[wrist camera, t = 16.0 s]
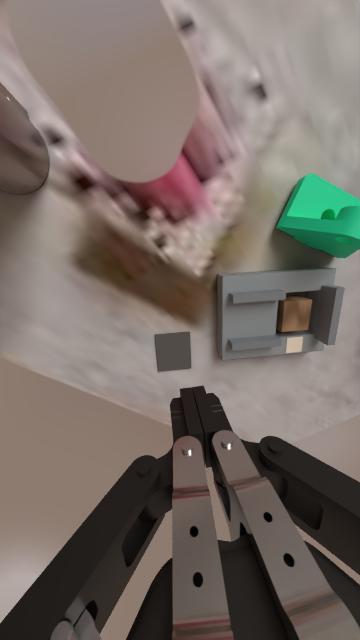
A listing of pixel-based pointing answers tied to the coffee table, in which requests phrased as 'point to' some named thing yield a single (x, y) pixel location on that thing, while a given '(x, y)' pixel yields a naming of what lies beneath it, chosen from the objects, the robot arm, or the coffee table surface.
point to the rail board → (275, 312)
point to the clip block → (293, 313)
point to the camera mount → (338, 217)
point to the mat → (173, 351)
